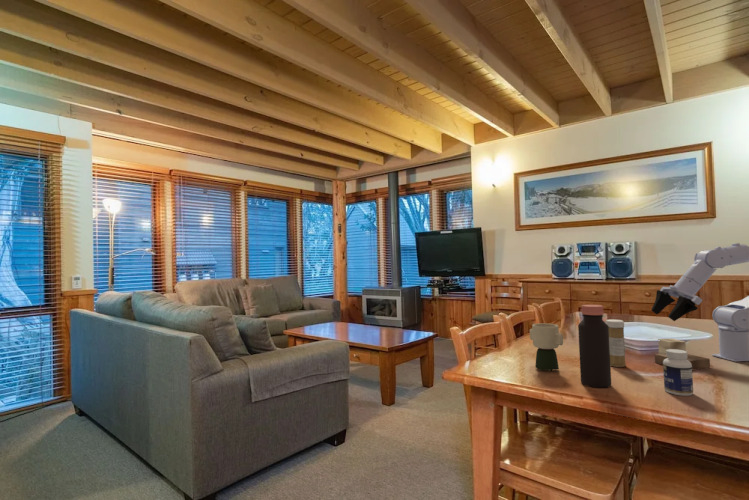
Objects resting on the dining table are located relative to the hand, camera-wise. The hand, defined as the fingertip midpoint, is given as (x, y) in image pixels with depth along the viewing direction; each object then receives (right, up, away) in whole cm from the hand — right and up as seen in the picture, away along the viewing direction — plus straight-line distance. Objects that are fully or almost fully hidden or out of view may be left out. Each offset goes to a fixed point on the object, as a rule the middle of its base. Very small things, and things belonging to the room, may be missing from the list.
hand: (662, 315), depth 124 cm
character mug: (-42, -14, -11) cm, 45 cm away
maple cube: (+4, -13, +1) cm, 14 cm away
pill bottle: (-20, -13, -32) cm, 40 cm away
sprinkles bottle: (-20, -14, -8) cm, 25 cm away
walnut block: (-2, -13, -10) cm, 17 cm away
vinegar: (-35, -14, -25) cm, 45 cm away
